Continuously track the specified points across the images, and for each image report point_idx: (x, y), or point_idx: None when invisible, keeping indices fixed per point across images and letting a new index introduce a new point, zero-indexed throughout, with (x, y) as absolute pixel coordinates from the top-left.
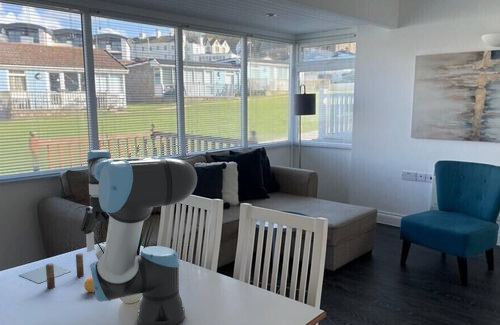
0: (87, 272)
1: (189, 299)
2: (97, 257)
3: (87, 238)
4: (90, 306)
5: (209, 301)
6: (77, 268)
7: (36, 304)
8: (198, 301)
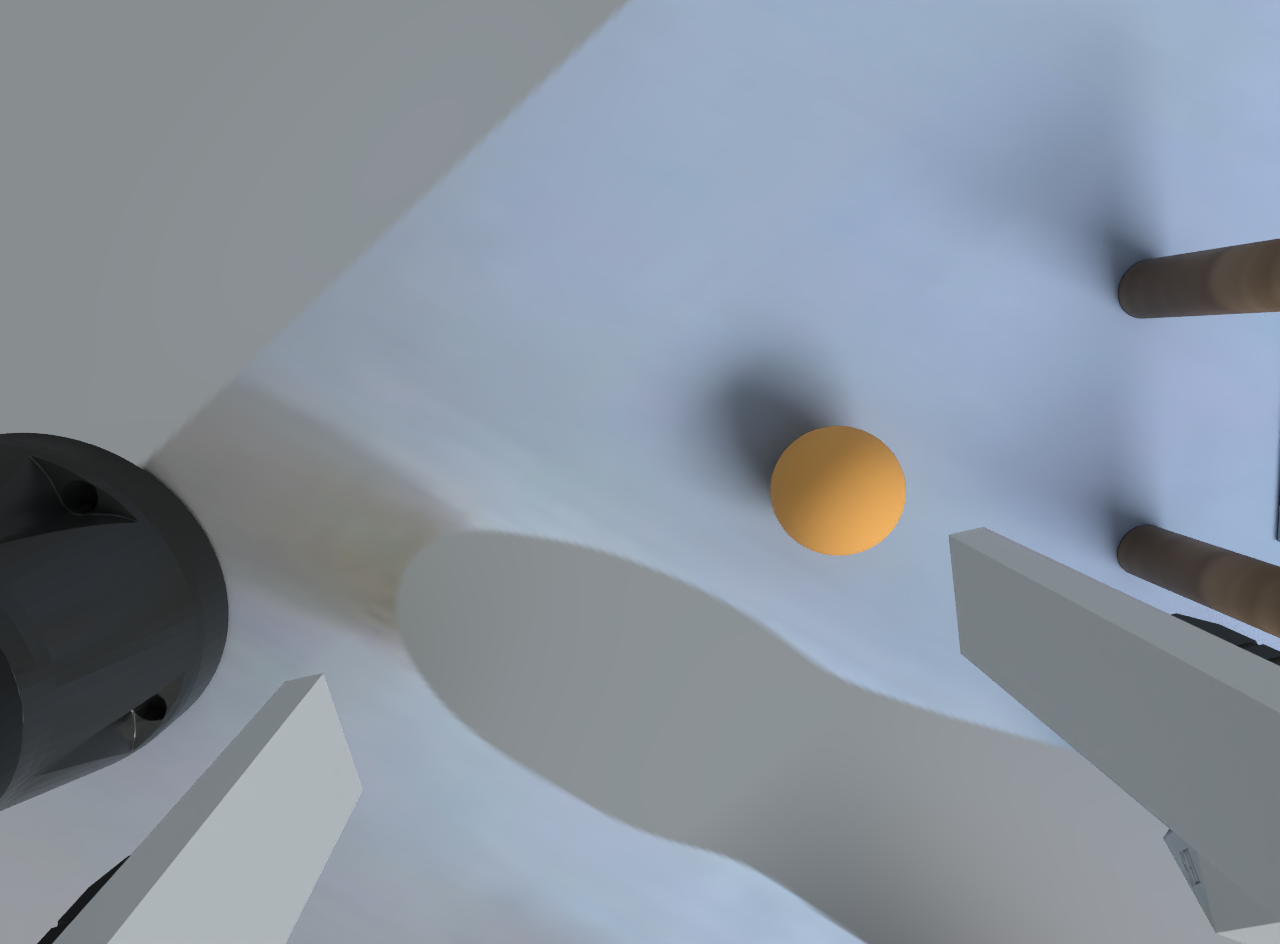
0: None
1: None
2: None
3: (1175, 649)
4: (598, 342)
5: None
6: (1207, 549)
7: (961, 60)
8: None
